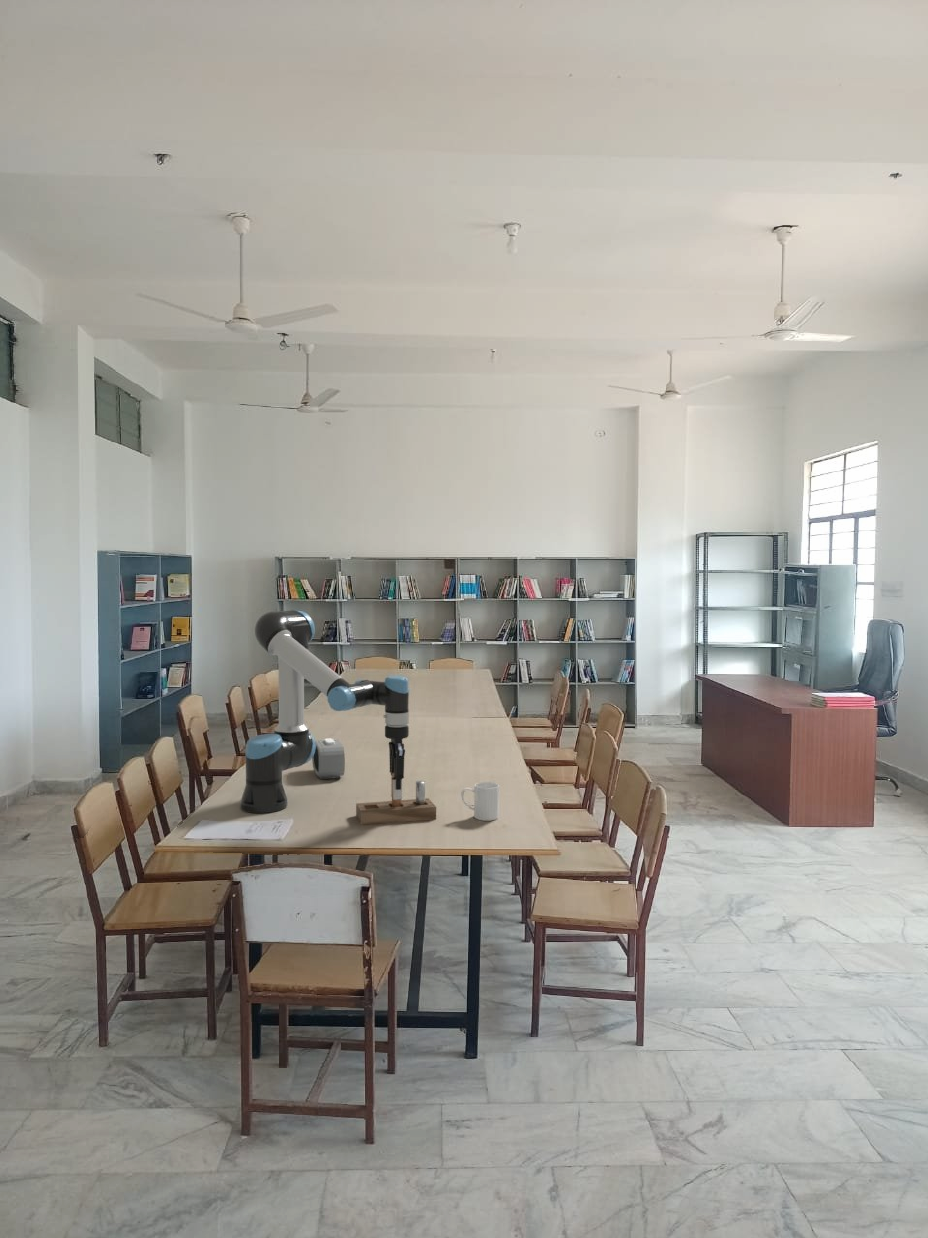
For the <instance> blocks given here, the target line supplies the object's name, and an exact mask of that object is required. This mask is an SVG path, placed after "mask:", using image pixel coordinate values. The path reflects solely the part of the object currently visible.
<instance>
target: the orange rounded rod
mask: <svg viewBox="0 0 928 1238" xmlns="http://www.w3.org/2000/svg"><path fill="white" fill-rule="evenodd" d="M391 777H392V778H394V773H392V776H391ZM401 800H402V799H396V800H393V780H392V797H391V801H392V807H401Z"/></svg>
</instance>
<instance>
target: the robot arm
mask: <svg viewBox="0 0 928 1238" xmlns="http://www.w3.org/2000/svg"><path fill="white" fill-rule="evenodd" d="M315 627H316V626H315V623H314V620H313V619H312V618H311V617H310V615H309V614H308V613H307V612H305V611H301V610H294V609H290V610H283V611H281V610H280V611H268V612H266V613H263V615H261V616H260V617H259V618H258V620H257V621H256V623H255V625H254V636H255V639H256V641H257V642H258V643H259V645H260V647H262V649H264V650H265V651H266V652H267V653H268V654H270V655H271V656H277V659H278V660H277V661H278V664H277V665H278V672H277V673H278V724H277V726H276V727H274V730H273V731H274V733H264V734H258V735H254V736H253V737H251V738H249V739H248V740H247V742H246V744H245V752H244V754H245V786H244V789H243V793H242V795H241V799H240V805H239V808H240V810H242V812H246V813H251V814H252V813H253V814H255V813H256V814H267V813H274V812H279V811H282V810H285V809H286V808H288V797H287V794H286V790H285V788H284V785H283V771H287V770H289V769H293V768H298V767H301V766H303V765H305V764H308V763H309V762H310V761H312V757H313V755H314V753H315V748H316V744H315V741H316V740H315V738H314V737H313V734H312V733H311V732H310V728H309V726H308V725H307V724H306V723H305V680H306V681H307V682H309V683H310V684H311V685H312V686H313V687H315V688H316V689H317V690H318V691H319V692H321V693H322V694H323V695H325V696H326V697H327V703H328V704H329V707H330V708H331V709H332V710H333V711H335V712H342V711H344V712H345V711H350V710H353V709H357V708H360V707H366V706H369V705H370V706H371V705H377V706H384V713H385V714H384V715H383V719H384V724H385V726H384V737H385V738H386V739H390V741H388V747H389V754H388V755H389V773H390V776H391V777H390V778H391V779H390V783H391V784H390V797H391V798H392V780H393V800H396V799H401V800H403V779H404V778H405V776H404V775H405V754H406V753H405V752H406V749H405V744H404V743H403V739H407V738H408V737H409V735H410V734H409V727H410V726H409V725H408V724H409V722H410V720H409V719H410V712H409V700H410V699H409V695H410V689H409V688H410V687H409V679H408V678H407V677H406V676H404V675H389V676H386V677H385V679H384V681H378V680H377V681H376V680H369V679H360V680H359V679H358V680H355V682H354V683H352V684H351V683H350V682H349V681H347V680H346V679H344V678H343V677H342V676H340V674H339V673H337V672H335V671H334V669H332V668H330V667H329V666H328V664H326V663H324V662H323V661H322V660H321V659H320V658H318V657H317V656H316V655H314V654H313V653H312V652H310V651H309V643H310V642H311V641H312V640H313V639H314V636H315V633H316V628H315ZM392 773H394V778H392Z"/></svg>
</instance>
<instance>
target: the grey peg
mask: <svg viewBox="0 0 928 1238" xmlns="http://www.w3.org/2000/svg"><path fill="white" fill-rule="evenodd" d="M415 799H416V806H417V805H425V799H426V781H424V780H416V781H415Z"/></svg>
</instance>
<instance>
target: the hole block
mask: <svg viewBox="0 0 928 1238" xmlns="http://www.w3.org/2000/svg"><path fill="white" fill-rule="evenodd" d="M355 804H356V805H355V807H356V808H355V816H356V818H357V819H358V821H359V823H360V825H361V826H364V825H365V826H366V825H377V824H390V823H401V822H402V823H403V822H416V821H417V822H418V821H427V820H428V821H429V820H437V806H436V804H434V802H433V801H432V800H431V799H430V798H426V797H425V805H417V806H416V798H415V799H401V807H392V800H385V801H384V800H383V801H371V802H356V803H355Z"/></svg>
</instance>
